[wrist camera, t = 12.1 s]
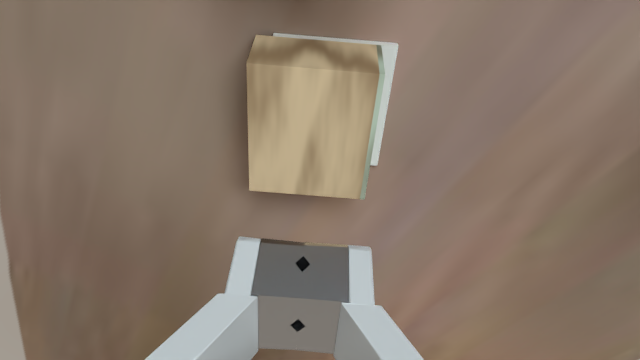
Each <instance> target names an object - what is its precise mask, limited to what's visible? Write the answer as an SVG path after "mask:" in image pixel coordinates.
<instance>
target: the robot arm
mask: <svg viewBox="0 0 640 360" xmlns="http://www.w3.org/2000/svg"><path fill="white" fill-rule="evenodd" d="M258 348H265V349H286V350H301V351H311V352H321V353H331V354H334V357H335V359H336V360H424V359H423V358H422V357H421V355H420V354H419V353H418V352H417V350H416V349H415V348H414V346H413V345H412V344H411V343H410V341H409V340H408V339H407V338H406V336H405V335H404V334H403V333H402V331H401V330H400V329H399V328H398V326H397V325H396V324H395V322H394V321H393V320H392V319H391V317H390V316H389V315H388V314H387V312H386V311H385V310H384V309H383V307H382V306H378V305H375V301H374V284H373V267H372V250H371V248H370V247H367V246H352V245H348V246H347V245H339V244H324V243H309V242H305V243H303V242H293V241H283V240H273V239H263V238H262V239H259V238H250V237H240V236H239V238H238V240H237V242H236V246H235V250H234V255H233V259H232V263H231V268H230V272H229V276H228V281H227V285H226V289H225V293H224V294H219V293H218V294H217V295H216V296H214V297H213V298H212V299H211V300H210V301H209V302H208V303H207V304H206V305H204V306H203V307H202V308H201V309H200V310H199V311H198V312H197V313H196V314H195V315H193V316H192V317H191V318H190V319H189V320H188V321H187V322H186V323H185V324H183V325H182V326H181V327H180V328H179V329H178V330H177V331H176V332H175V333H174V334H172V335H171V336H170V337H169V338H168V339H167V340H166V341H165V342H164V343H162V344H161V345H160V346H159V347H158V348H157V349H156V350H155V351H154V352H153V353H151V354H150V355H149V356H148V357H147V358H146V359H145V360H251V359H252V358H253V356H254V355H255V354H256V353H257V351H258Z"/></svg>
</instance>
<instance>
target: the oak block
mask: <svg viewBox="0 0 640 360" xmlns="http://www.w3.org/2000/svg"><path fill="white" fill-rule="evenodd" d="M246 67H247V110H248V153H249V191H261V192H274V193H287V194H300V195H313V196H326V197H339V198H351V199H365V193H366V187H367V181H368V175H369V169H370V163H371V157H372V151H373V145H374V139H375V133H376V127H377V121H378V115H379V109H380V103H381V97H382V91H383V85H384V79H385V69H384V62H383V54H382V47H381V45H373V44H361V43H349V42H337V41H325V40H313V39H301V38H288V37H276V36H264V35H256V36H255V39H254V42H253V45H252V48H251V51H250V54H249V57H248V60H247V63H246Z"/></svg>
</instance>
